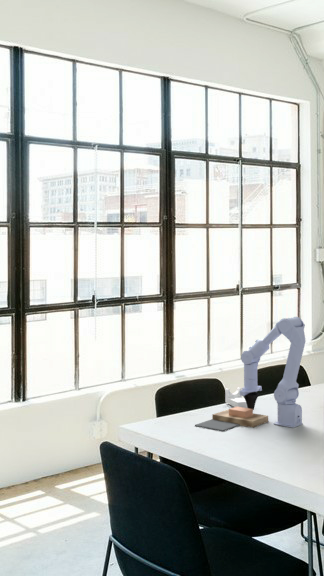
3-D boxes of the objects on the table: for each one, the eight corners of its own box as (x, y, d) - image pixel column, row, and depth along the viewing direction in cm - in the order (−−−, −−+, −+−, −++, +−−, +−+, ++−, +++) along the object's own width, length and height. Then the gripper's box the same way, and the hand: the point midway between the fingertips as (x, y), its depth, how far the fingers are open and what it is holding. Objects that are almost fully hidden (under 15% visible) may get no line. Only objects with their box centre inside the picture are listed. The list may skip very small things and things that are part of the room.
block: (252, 414, 284) (252, 409, 284) (244, 417, 280) (244, 411, 279) (236, 412, 289) (236, 406, 289) (228, 414, 285) (228, 409, 285)
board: (268, 421, 282) (268, 415, 282) (252, 427, 273) (252, 421, 273) (228, 414, 295) (228, 409, 295) (212, 420, 286) (212, 414, 286)
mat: (239, 425, 277) (239, 424, 277) (223, 431, 268) (223, 430, 268) (212, 420, 286) (212, 419, 286) (194, 426, 277) (194, 424, 277)
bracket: (225, 404, 318) (225, 388, 317) (239, 403, 320) (239, 387, 320) (237, 410, 305) (237, 393, 305) (251, 408, 308) (251, 392, 307)
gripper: (251, 375, 298) (252, 405, 298) (233, 379, 287) (233, 411, 287) (265, 376, 293) (265, 407, 294) (247, 381, 282) (247, 414, 283)
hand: (250, 409), depth 290 cm, fingers closed
